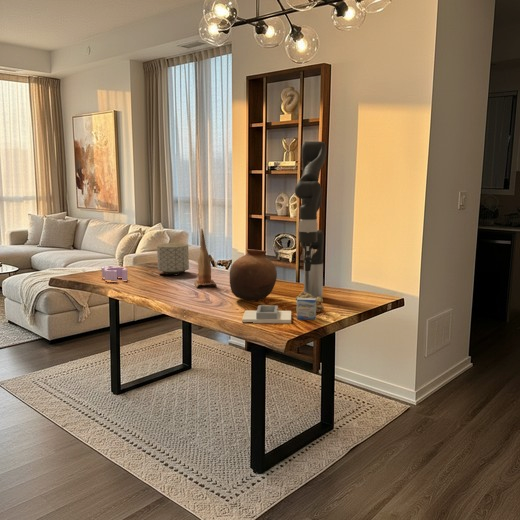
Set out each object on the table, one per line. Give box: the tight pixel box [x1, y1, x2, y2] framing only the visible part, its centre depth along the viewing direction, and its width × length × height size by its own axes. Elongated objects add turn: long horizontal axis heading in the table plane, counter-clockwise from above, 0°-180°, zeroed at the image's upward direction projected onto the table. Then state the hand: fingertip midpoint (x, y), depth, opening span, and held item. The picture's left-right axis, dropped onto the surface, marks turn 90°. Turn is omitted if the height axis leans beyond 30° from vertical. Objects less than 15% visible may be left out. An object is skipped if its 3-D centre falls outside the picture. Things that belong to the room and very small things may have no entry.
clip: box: [101, 265, 129, 281], centre depth 300 cm, size 20×12×7 cm, turn 41°
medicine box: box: [296, 298, 317, 321], centre depth 214 cm, size 8×4×9 cm, turn 81°
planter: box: [156, 242, 190, 275], centre depth 315 cm, size 19×19×18 cm
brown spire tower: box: [194, 228, 217, 289], centre depth 278 cm, size 11×12×32 cm
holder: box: [241, 304, 292, 324], centre depth 215 cm, size 14×20×4 cm
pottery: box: [229, 248, 278, 302], centre depth 246 cm, size 23×23×25 cm
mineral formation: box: [295, 291, 325, 313], centre depth 228 cm, size 8×13×15 cm
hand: (308, 269), depth 212 cm, fingers open, 8 cm apart
